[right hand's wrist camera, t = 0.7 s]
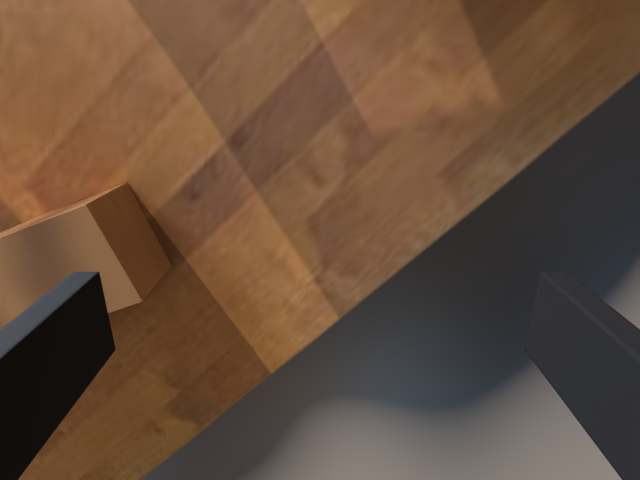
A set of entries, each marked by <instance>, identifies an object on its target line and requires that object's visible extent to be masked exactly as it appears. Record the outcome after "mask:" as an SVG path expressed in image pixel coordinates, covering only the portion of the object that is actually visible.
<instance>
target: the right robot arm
mask: <svg viewBox="0 0 640 480" xmlns="http://www.w3.org/2000/svg"><path fill="white" fill-rule="evenodd" d="M114 351H115V345H114V340H113V336H112V331H111V326H110V321H109V316H108V311H107V306H106V302H105V297H104V292H103V287H102V282H101V277H100V273H99V272H72V273H71V274H70V275H69V276H67V277H66V278H65V279H64V280H62V281H61V282H60V283H59V284H57V285H56V286H55V287H54V288H52V289H51V290H50V291H48V292H47V293H46V294H45V295H43V296H42V297H41V298H40V299H38V300H37V301H36V302H35V303H33V304H32V305H31V306H29V307H28V308H27V309H26V310H24V311H23V312H22V313H21V314H19V315H18V316H17V317H16V318H14V319H13V320H12V321H10V322H9V323H8V324H7V325H5V326H4V327H3V328H2V329H0V480H18V479H19V477H20V476H21V475H22V473H23V472H24V471H25V469H26V468H27V467H28V465H29V464H30V463H31V461H32V460H33V459H34V457H35V456H36V455H37V453H38V452H39V451H40V449H41V448H42V447H43V445H44V444H45V443H46V441H47V440H48V439H49V437H50V436H51V435H52V433H53V432H54V431H55V429H56V428H57V427H58V425H59V424H60V423H61V421H62V420H63V419H64V417H65V416H66V415H67V413H68V412H69V411H70V409H71V408H72V407H73V405H74V404H75V403H76V401H77V400H78V399H79V397H80V396H81V395H82V393H83V392H84V391H85V389H86V388H87V387H88V385H89V384H90V383H91V381H92V380H93V379H94V377H95V376H96V375H97V373H98V372H99V371H100V369H101V368H102V367H103V365H104V364H105V363H106V361H107V360H108V359H109V357H110V356H111V355H112V353H113V352H114ZM525 351H526V352H527V353H528V355H529V356H530V357H531V359H532V360H533V361H534V363H535V364H536V365H537V367H538V368H539V369H540V371H541V372H542V373H543V375H544V376H545V377H546V379H547V380H548V381H549V383H550V384H551V385H552V387H553V388H554V389H555V391H556V392H557V393H558V395H559V396H560V397H561V399H562V400H563V401H564V403H565V404H566V405H567V407H568V408H569V409H570V411H571V412H572V413H573V415H574V416H575V417H576V419H577V420H578V421H579V423H580V424H581V425H582V427H583V428H584V429H585V431H586V432H587V433H588V435H589V436H590V437H591V439H592V440H593V441H594V443H595V444H596V445H597V447H598V448H599V449H600V451H601V452H602V453H603V455H604V456H605V457H606V459H607V460H608V461H609V463H610V464H611V465H612V467H613V468H614V469H615V471H616V472H617V473H618V475H619V476H620V477H621V479H622V480H640V329H638V328H637V327H636V326H635V325H633V324H632V323H631V322H630V321H628V320H627V319H626V318H624V317H623V316H622V315H621V314H619V313H618V312H617V311H616V310H614V309H613V308H612V307H611V306H609V305H608V304H607V303H605V302H604V301H603V300H602V299H600V298H599V297H598V296H597V295H595V294H594V293H593V292H591V291H590V290H589V289H588V288H586V287H585V286H584V285H583V284H581V283H580V282H579V281H578V280H576V279H575V278H574V277H573V276H571V275H570V274H569V273H567V272H541V273H540V277H539V282H538V287H537V292H536V297H535V302H534V306H533V311H532V316H531V321H530V326H529V331H528V336H527V341H526V345H525Z"/></svg>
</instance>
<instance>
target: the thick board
mask: <svg viewBox="0 0 640 480" xmlns="http://www.w3.org/2000/svg"><path fill="white" fill-rule="evenodd" d="M171 266H172V265H171V263H170V261H169V259H168V257H167V256H166V254H165V252H164V250H163V248H162V246H161V245H160V243H159V241H158V239H157V237H156V235H155V233H154V232H153V230H152V228H151V226H150V224H149V222H148V220H147V219H146V217H145V215H144V213H143V211H142V209H141V208H140V206H139V204H138V202H137V200H136V198H135V196H134V195H133V193H132V191H131V189H130V187H129V185H128V183H127V182H126V183H124V184H121V185H119V186H116V187H113V188H111V189H108V190H106V191H103V192H100V193H98V194H95V195H93V196H90V197H87V198H85V199H82V200H80V201H77V202H74V203H72V204H69V205H67V206H64V207H61V208H59V209H56V210H54V211H51V212H49V213H46V214H43V215H41V216H38V217H36V218H33V219H30V220H28V221H25V222H23V223H20V224H17V225H15V226H12V227H10V228H7V229H4V230H2V231H0V329H2V328H3V327H4V326H5V325H7V324H8V323H9V322H10V321H12V320H13V319H14V318H16V317H17V316H18V315H19V314H21V313H22V312H23V311H24V310H26V309H27V308H28V307H29V306H31V305H32V304H33V303H35V302H36V301H37V300H38V299H40V298H41V297H42V296H43V295H45V294H46V293H47V292H48V291H50V290H51V289H52V288H54V287H55V286H56V285H57V284H59V283H60V282H61V281H62V280H64V279H65V278H66V277H67V276H69V275H70V274H71V273H72V272H99V273H100V277H101V282H102V287H103V292H104V297H105V302H106V306H107V311H108V313H111V312H114V311H117V310H120V309H123V308H126V307H129V306H132V305H134V304H137V303H140V302H143V301H144V299H145V298H146V297H147V296H148V294H149V293H150V292H151V291H152V289H153V288H154V287H155V286H156V284H157V283H158V282H159V281H160V279H161V278H162V277H163V276H164V274H165V273H166V272H167V271H168V269H169V268H170V267H171Z"/></svg>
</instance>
